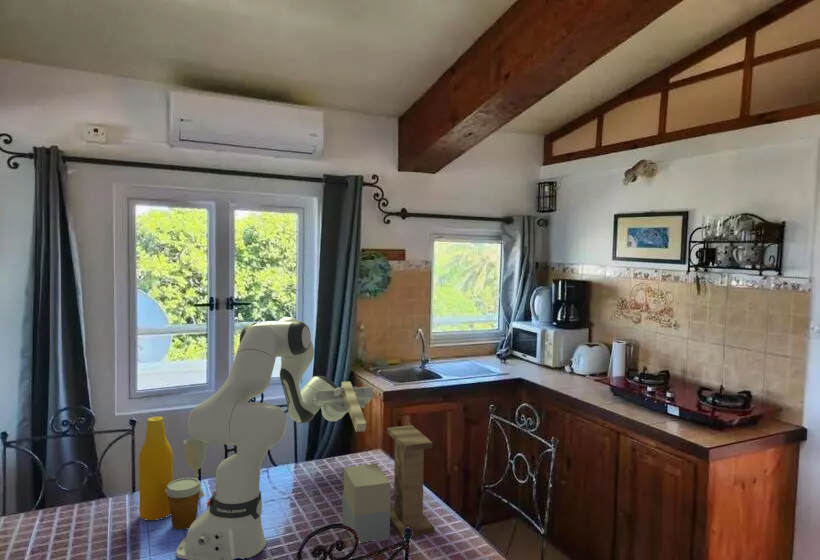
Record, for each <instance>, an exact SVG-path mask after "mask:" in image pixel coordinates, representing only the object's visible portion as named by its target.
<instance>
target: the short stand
mask: <svg viewBox="0 0 820 560" xmlns="http://www.w3.org/2000/svg"><path fill="white" fill-rule="evenodd" d="M386 430H387V432H386V433H387V434H388V435H389V437H391V438H392V439H393V440H394V468H393V469H394V473H393V474H394V476H393V477H394V481H393V482H394V485H393V487H394V489H393V505H392V506H391V505H390V525H391V526H392V527H393V529H394V530H395V532H396V533H397V534H398V536H399V537H400V539H404V538H403V530H404V529H405V528H406V527H409V528H412V529H413V535H412V537H416V536H417V537H418V536H422V535H423V536H424V535H427V534H434V533H435V526H434V525H433V524H432V522H431V521H430V520H429V518H427V516H426V515H425V514H424V457H425V456H424V455H425V454H424V453H425V451H424V450H425V449H432V448H433V444H434V443H433V442H432V440H430V438H428V437H427V436H426V435H424V434H423V433H422V432H421V431H420V430H419V429H417V428H416V426H414V425H413V424H411V425H402V426H393V427H387V429H386Z"/></svg>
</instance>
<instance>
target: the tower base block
mask: <svg viewBox="0 0 820 560" xmlns="http://www.w3.org/2000/svg"><path fill="white" fill-rule="evenodd" d="M341 500H342V502H341V504H342V505H341V506H342V507H341V508H342V509H341V510H342V511H341V515H342V516H341V521H342V523H343V525H344V526H345V525H347V526H349V527H351V528H353V529H354V530H355V531H356V532H357V533H358V535H359V539H360V542H361V543H362V542H366V541H372V540H378V541H380V540H379V539H383V540H387V539H386V538H389V539H390V533H391V523H390V511H386V512H379V513H373V514H366V515H360V516H355V515H354V514H353V512H352V510H351V508H350V506H349V504H348V502H347V500H346V498H345V496H344V493H343V494H342V497H341ZM350 535H351V537H352V539H351V540H354V536H353V534H352V533H351V534H350ZM350 535H349V536H350ZM351 537H350V538H351ZM372 542H373V541H372ZM362 544H363V543H362Z"/></svg>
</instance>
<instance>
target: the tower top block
mask: <svg viewBox="0 0 820 560" xmlns="http://www.w3.org/2000/svg"><path fill="white" fill-rule="evenodd" d="M391 486H392V485H391V481H390V480H389V478H388V477H387V476H386V474H385V472H384V471H383V470H382V469H381V467H380V465H378V464H377V463H371V464H363V465H355V466H347V467H343V494H344V496H345V498H346V500H347V502H348V504H349V506H350V508H351V510H352V512H353V514H354V515H355V516H360V515H366V514H373V513H379V512H386V511H390V506H391V491H392V490H391Z"/></svg>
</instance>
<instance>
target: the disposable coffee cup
mask: <svg viewBox="0 0 820 560" xmlns="http://www.w3.org/2000/svg"><path fill="white" fill-rule="evenodd" d="M200 489H202V484H201V482H200V480H199V478H198V479H196V478H194V477H183V478H181V477H180V478H177V479H173V481H172V482H170V483H169V484H168V486H167V489H166V493H167V495H168V501H169V508H170V514H171V515H170V520H171V527H172V526H173V527H172V529H174V528H176V529H184V530H187V529H186V528H188V529H189V527H190V526H191V524H192V523H193V522H194V521H195V520H196V519H197V518H198V517H197V516H198V507H199V501H200V500H199V492H200ZM176 529H175V530H176Z"/></svg>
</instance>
